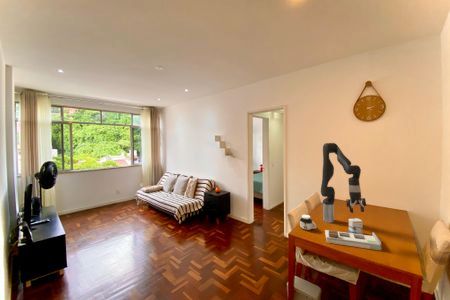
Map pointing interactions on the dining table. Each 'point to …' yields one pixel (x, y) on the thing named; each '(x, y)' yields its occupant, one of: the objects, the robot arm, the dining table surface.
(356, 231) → the ink box
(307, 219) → the spread jar
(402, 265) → the dining table surface
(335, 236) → the walnut block
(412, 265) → the dining table surface
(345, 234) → the two-hole white board
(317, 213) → the dining table surface
